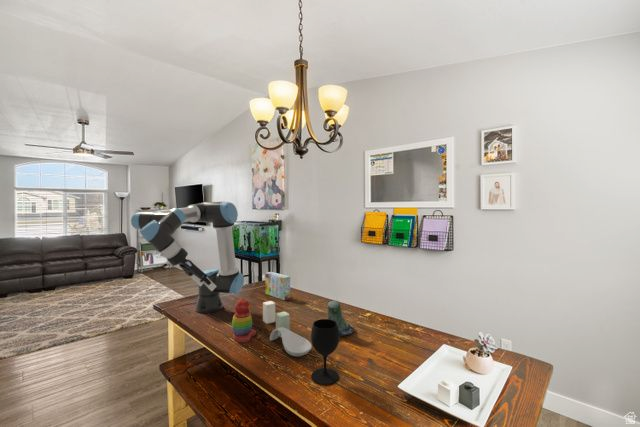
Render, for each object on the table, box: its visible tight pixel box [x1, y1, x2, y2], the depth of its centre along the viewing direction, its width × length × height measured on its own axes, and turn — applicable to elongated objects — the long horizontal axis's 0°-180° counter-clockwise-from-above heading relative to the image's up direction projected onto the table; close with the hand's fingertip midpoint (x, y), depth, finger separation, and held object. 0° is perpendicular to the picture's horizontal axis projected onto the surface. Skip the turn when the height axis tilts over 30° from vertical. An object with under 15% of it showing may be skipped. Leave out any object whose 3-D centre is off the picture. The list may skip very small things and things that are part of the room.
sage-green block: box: [275, 310, 291, 338], centre depth 144 cm, size 5×5×10 cm
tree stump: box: [326, 300, 355, 338], centre depth 147 cm, size 18×20×18 cm
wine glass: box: [310, 318, 340, 386], centre depth 109 cm, size 10×10×20 cm
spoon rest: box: [269, 327, 313, 358], centre depth 131 cm, size 24×12×7 cm, turn 45°
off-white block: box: [262, 300, 276, 325], centre depth 159 cm, size 5×5×10 cm
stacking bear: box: [231, 298, 257, 344], centre depth 141 cm, size 11×10×18 cm
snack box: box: [264, 271, 291, 301], centre depth 201 cm, size 21×6×15 cm, turn 46°
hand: (208, 286), depth 132 cm, fingers open, 13 cm apart
